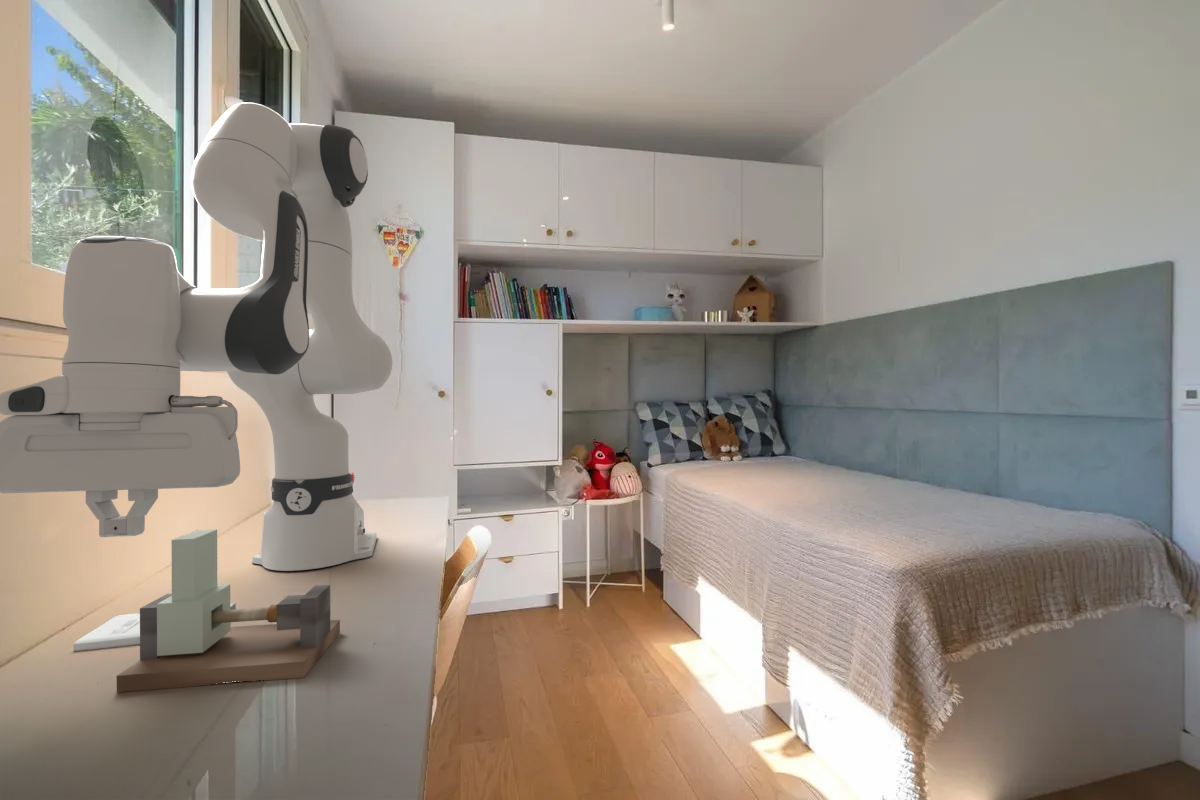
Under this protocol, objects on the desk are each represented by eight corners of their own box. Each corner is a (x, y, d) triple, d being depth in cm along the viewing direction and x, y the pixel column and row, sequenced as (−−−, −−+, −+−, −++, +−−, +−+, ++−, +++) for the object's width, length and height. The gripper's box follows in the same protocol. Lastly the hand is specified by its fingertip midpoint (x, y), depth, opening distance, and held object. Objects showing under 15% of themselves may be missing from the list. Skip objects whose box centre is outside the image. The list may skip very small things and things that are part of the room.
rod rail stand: (185, 643, 58) (185, 584, 58) (339, 632, 61) (339, 575, 61) (116, 692, 48) (116, 620, 48) (304, 677, 51) (303, 609, 51)
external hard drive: (207, 642, 60) (72, 656, 57) (236, 614, 68) (119, 626, 65) (207, 627, 60) (72, 641, 57) (236, 601, 68) (119, 612, 65)
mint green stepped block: (189, 633, 56) (188, 529, 56) (230, 631, 57) (230, 527, 57) (157, 655, 51) (156, 541, 51) (202, 652, 52) (202, 539, 52)
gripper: (252, 396, 58) (251, 524, 57) (37, 398, 55) (35, 533, 54) (220, 394, 51) (218, 537, 51) (-25, 395, 49) (-29, 548, 48)
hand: (122, 535), depth 53 cm, fingers closed
